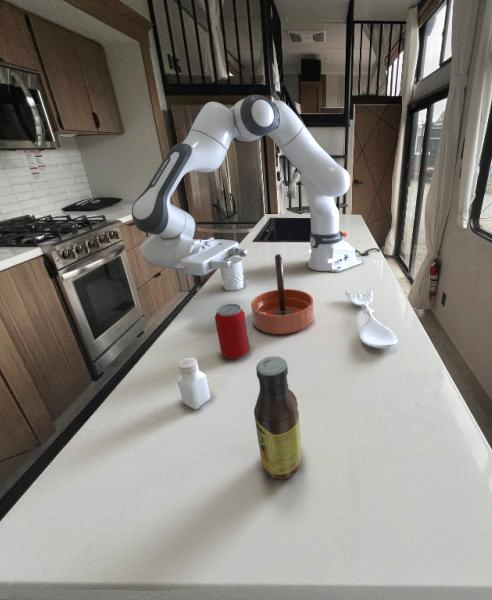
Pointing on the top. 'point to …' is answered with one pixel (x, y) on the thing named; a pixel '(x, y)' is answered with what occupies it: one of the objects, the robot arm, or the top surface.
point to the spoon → (372, 324)
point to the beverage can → (232, 331)
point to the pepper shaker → (192, 384)
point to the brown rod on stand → (280, 288)
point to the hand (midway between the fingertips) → (238, 258)
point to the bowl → (282, 324)
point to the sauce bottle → (277, 420)
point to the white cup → (233, 275)
